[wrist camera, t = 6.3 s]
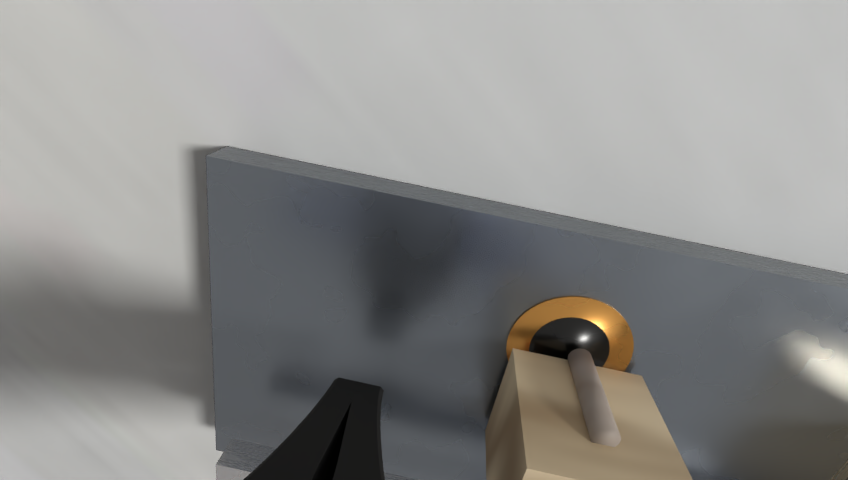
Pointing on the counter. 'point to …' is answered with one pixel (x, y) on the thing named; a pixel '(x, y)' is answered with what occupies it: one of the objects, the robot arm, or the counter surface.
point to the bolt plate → (506, 321)
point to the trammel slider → (576, 424)
